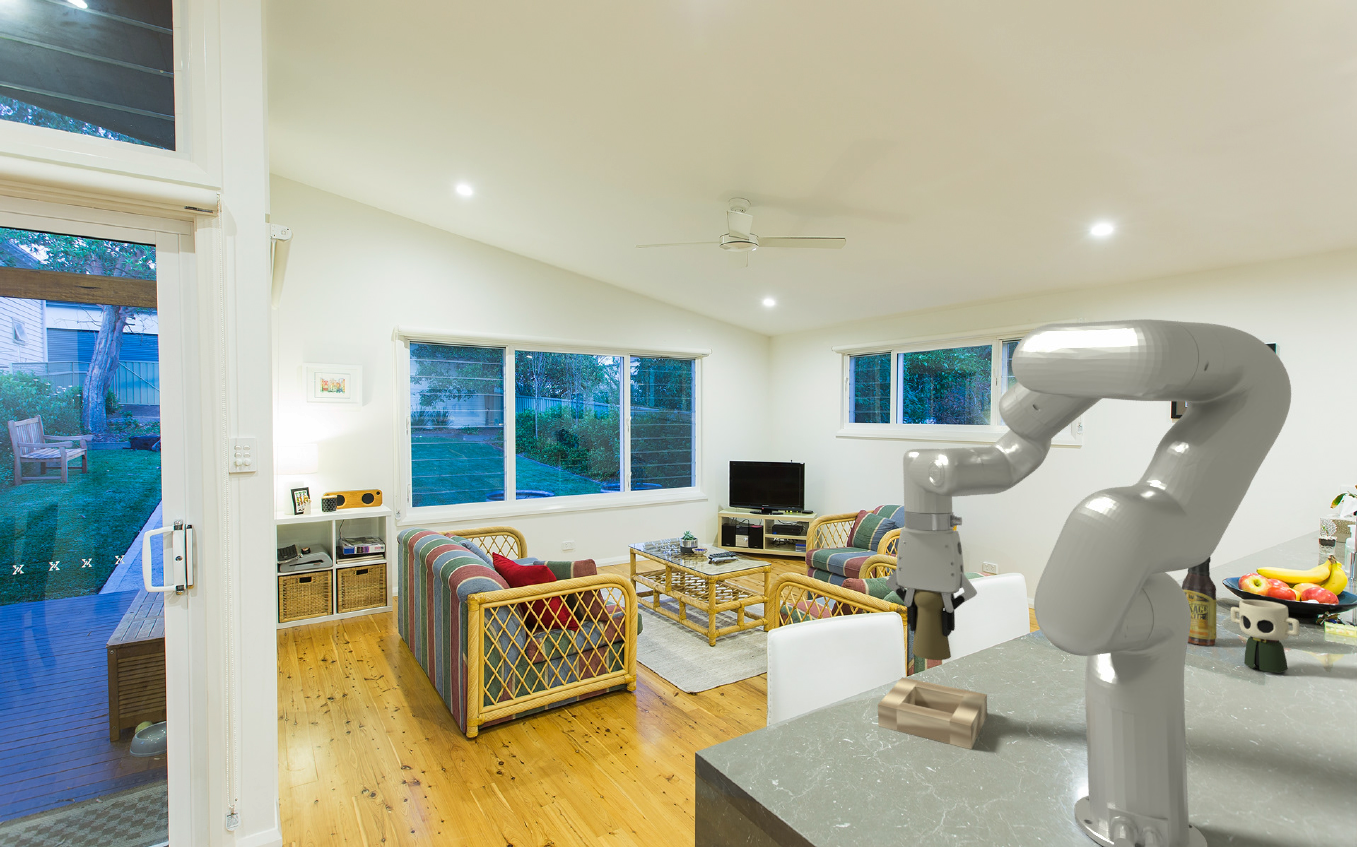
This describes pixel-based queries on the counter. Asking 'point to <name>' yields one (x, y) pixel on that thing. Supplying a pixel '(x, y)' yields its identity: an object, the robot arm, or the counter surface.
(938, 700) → the socket block
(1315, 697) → the counter surface
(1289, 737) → the counter surface
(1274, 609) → the character mug
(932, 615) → the cork
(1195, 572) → the sauce bottle
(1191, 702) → the counter surface
